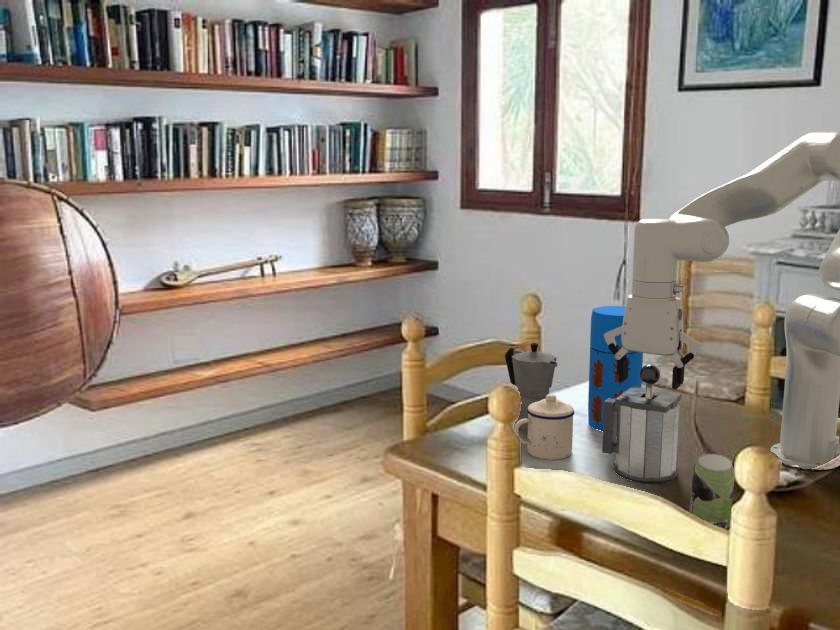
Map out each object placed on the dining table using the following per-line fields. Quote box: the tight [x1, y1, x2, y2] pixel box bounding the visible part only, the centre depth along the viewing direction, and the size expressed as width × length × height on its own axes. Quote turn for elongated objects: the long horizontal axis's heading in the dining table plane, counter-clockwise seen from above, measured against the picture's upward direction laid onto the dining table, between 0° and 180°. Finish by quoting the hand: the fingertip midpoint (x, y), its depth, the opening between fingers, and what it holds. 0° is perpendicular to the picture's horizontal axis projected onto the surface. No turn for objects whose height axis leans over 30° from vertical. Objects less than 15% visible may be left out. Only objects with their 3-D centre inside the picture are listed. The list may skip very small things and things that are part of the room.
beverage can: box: [689, 453, 736, 529], centre depth 131 cm, size 6×7×12 cm
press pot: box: [601, 386, 682, 485], centre depth 154 cm, size 14×11×14 cm
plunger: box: [640, 364, 661, 399], centre depth 153 cm, size 7×7×18 cm
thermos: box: [587, 305, 644, 432], centre depth 178 cm, size 11×11×25 cm
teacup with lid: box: [513, 393, 575, 461], centre depth 164 cm, size 12×9×12 cm
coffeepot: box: [504, 342, 558, 432], centre depth 181 cm, size 15×9×18 cm, turn 36°
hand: (649, 383), depth 152 cm, fingers open, 9 cm apart
